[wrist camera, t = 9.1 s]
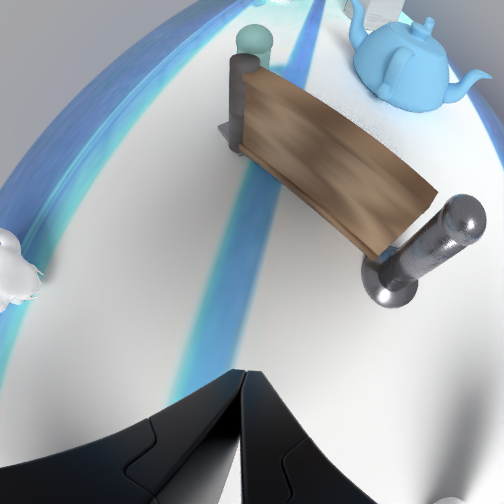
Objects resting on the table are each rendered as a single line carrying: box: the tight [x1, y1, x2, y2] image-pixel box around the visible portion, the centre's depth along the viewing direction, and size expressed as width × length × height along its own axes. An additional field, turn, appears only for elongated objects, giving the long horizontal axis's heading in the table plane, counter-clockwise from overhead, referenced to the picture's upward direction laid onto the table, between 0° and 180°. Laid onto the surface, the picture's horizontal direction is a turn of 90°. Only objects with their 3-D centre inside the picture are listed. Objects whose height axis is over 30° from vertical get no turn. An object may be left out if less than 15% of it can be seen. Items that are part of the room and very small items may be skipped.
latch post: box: [218, 24, 273, 156], centre depth 22 cm, size 4×4×11 cm
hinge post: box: [362, 194, 486, 308], centre depth 17 cm, size 5×5×11 cm
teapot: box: [349, 0, 493, 112], centre depth 28 cm, size 15×15×10 cm
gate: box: [229, 53, 438, 261], centre depth 20 cm, size 16×2×9 cm, turn 46°
